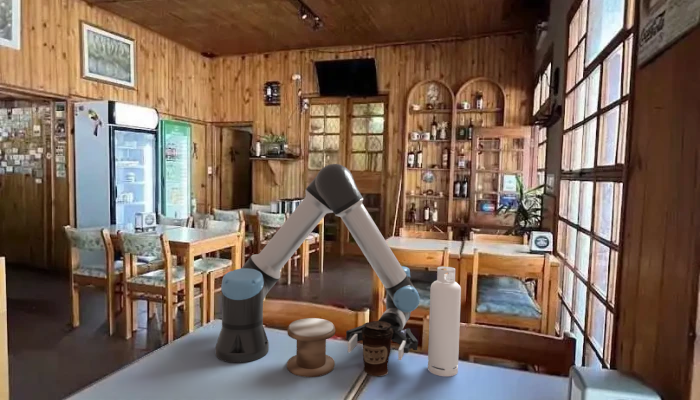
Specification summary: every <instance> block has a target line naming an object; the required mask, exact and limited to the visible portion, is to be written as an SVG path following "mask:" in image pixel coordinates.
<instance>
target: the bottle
mask: <svg viewBox="0 0 700 400" xmlns="http://www.w3.org/2000/svg"><path fill="white" fill-rule="evenodd" d="M436 272H437V273H436V280H434V281H433V282H432V283H431V285H430V289H429V290H430V291H429V292H430V293H429V298H430V299H429V318H428V320H429V322H428V323H429V325H428V351H427V355H428V356H427V360H428V361H427V370H428V371H429V372H430V373H431V374H432V375H436V376H439V377H453V376H456V375H457V374H458V373H459V352H460V351H459V350H460V329H461V327H460V324H461V301H462V300H461V297H462V287H461V285H460V284H459V283H458V282H457V281H456V268H454V267H453V266H438V267H437V269H436Z"/></svg>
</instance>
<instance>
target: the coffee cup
mask: <svg viewBox="0 0 700 400" xmlns="http://www.w3.org/2000/svg"><path fill="white" fill-rule="evenodd" d="M364 324H365V326H364V327H363V329H362V357H363V366H364V368H363V369H364V370H363V371H364V373H366V374H367V375H369V376H372V377H381V376H386V375H388V374H389V369H388V366H389V365H388V364H389V361H390V356H391V355H390V354H391V349H392V348H391V346H392V340H391V337H392V335H393V329H392V328H391V327H390V326H391V324H390V323H387V322H384V321H378V320H373V321H368V322H365V323H364Z"/></svg>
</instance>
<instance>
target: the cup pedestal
mask: <svg viewBox="0 0 700 400" xmlns="http://www.w3.org/2000/svg"><path fill="white" fill-rule="evenodd" d="M286 332H287V336H288V337H289V338H291V339H293V340H296V351H295V352H296V353H295V355H292V356H291V357H290V358H289V359H287V362H286V369H287V371H289V373H290V374H292V375H295V376H298V377H304V378H315V377H317V378H318V377H321V376H325V375H328V374H330V373H331V372H332V371H334V369H335V366H336V365H335V362H336V361H335V359H334V358H333V357H332V356H330V355H329V354H326V353H327V340H329V339H330V338H332V337H334V336H335V334H336V327H335V325H334V324H333V322H332V321H330V320H327V319H323V318H317V317H316V318H315V317H310V318H309V317H308V318H301V319H297V320H293V321H292V322H291V323H289V325H288V327H287V331H286Z"/></svg>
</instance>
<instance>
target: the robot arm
mask: <svg viewBox="0 0 700 400" xmlns="http://www.w3.org/2000/svg"><path fill="white" fill-rule="evenodd" d="M363 201H364V196H362V194H361V192H360V191H359V188H358V186H357V184H356V181H355V179H354V176H353V174H352V172H351V171H350V170H349V168H348V167H346V166H344V165H342V164H340V163H331V164H327V165H325V166H323V167H322V168H321V169H320V170H319V171H318V173H317V174H316V176H315V177H314V179H312V181H311V182H310V183H309V184H308V186H307V187H306V188H305V197H304V198H303V200H301V202H300V203H299V205H297V207H296V208H295V209H294V211H292V213H291V214H290V216H288V218H286V220H285V222H284V223H283V224H282V225H281V227H280V228H279V229H278V230H277V231H276V233H275V234H274V235H273V236H272V237H271V239H270V240H269V241H268V243H266V245H265V246H264V247H263V248H262V250H261V251H260V252H259V253H258V254H257V253H256V254H252V255H251V256H250V257H249V258H248V260H247V261H246V262H245V263H244V264H243V265H242V267H241V268H237V269H233V270H230V271H228V272H227V273H225V274H224V275H223V277H222V280H221V288H220V289H221V329H220V332H219V335H218V339H217V341H216V344H215V357H216V358H218V360H221V361H223V362H227V363H246V362H253V361H256V360H259V359H261V358H264V357H265V356H266V355H267V354H268V353H269V347H270V343H269V340H268V336H267V333H266V330H265V328H264V323H263V322H264V300H265V299H266V297H267V294H268V293H269V292H270V290H271V289H272V288H273V287H275V284H276V283H277V282H278V281H279V279H281V270H282V268H283V267H284V266H285V265H286V264H287V263H288V261H290V259H291V257H293V255H294V254H295V253H296V251H297V250H298V249H299V247H301V245H302V244H303V243H304V242H305V240H307V238H308V237H309V236H310V234H311V233H312V232H313V231H314V229H315V228H316V227H317V226H318V225H319V224H320V222H321V221H322V219H324V217H325V216H326V215H327V214H332V213H333V214H334V216H335V217H340V218H341V220H342V222H343V223H344V225H345V227H346V228H347V230H348V231H349V233H350V234H351V236H352V238H353V239H354V241H355V242H356V244H357V246H358V247H359V249H360V251H361V252H362V254H363V255H364V257H365V258H366V260H367V262H368V263H369V265H370V266H371V268H372V269H373V271H374V272H375V274H376V276H377V277H378V279H379V280H380V282H381V284H382V285H383V287H384V288H385V291H386V297H385V299H386V305H385V311H384V312H383V313H382V315H381V316H380V317H379V319H378V320H377V321H384V322H387V323H390V324H391V326H390V327H391V328H392V329H393V335H392V337H391V342H394V343H397V344H398V345H399V347H398V350H397V351H398V355H397V356H398V358H397V360H398V361H402V359H403V357H404V355H405V354H408V353H409V352H410V351H411V349H412V350H413V351H417V350H418V342H419V340H418V339H417V338H416V337H415V336H414V335H413V333H412V332H411V328H409V327H407V328H405V329H404V327H406V324H407V323H408V322H409V320H410V317H411V314H412V313H411V312H413V311H415V310H416V309H417V308H418V307H419V304H420V302H421V301H420V300H421V298H420V295H419V294H420V293H419V292H418V290H417V288H415V286H414V285H413V282H412V280H411V271H410V270H411V269H410V268H409V267H407V266H405V265H403V266H402V265H401V263H400V262H399V259H398V258H397V257H396V255H395V254H394V252H393V251H392V249H391V247H390V246H389V244H388V242H387V240H386V239H385V238H384V236H383V235H382V233H381V231H380V230H379V227H378V226H377V225H376V223H375V221H374V220H373V218H372V216H371V215H370V213H369V212H368V210H367V209H366V207H365V206H364V205H365V204H363ZM364 326H365V323H363V324H362V325H359V326H357V327H354V328H351V329H348V330H346V332H345V333H346V335H345V340H346V341H347V353H351V352H353V350H354V349H355V347H356V346H357V344H358V342H360V341H362V329H363V327H364ZM362 342H363V341H362Z"/></svg>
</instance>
